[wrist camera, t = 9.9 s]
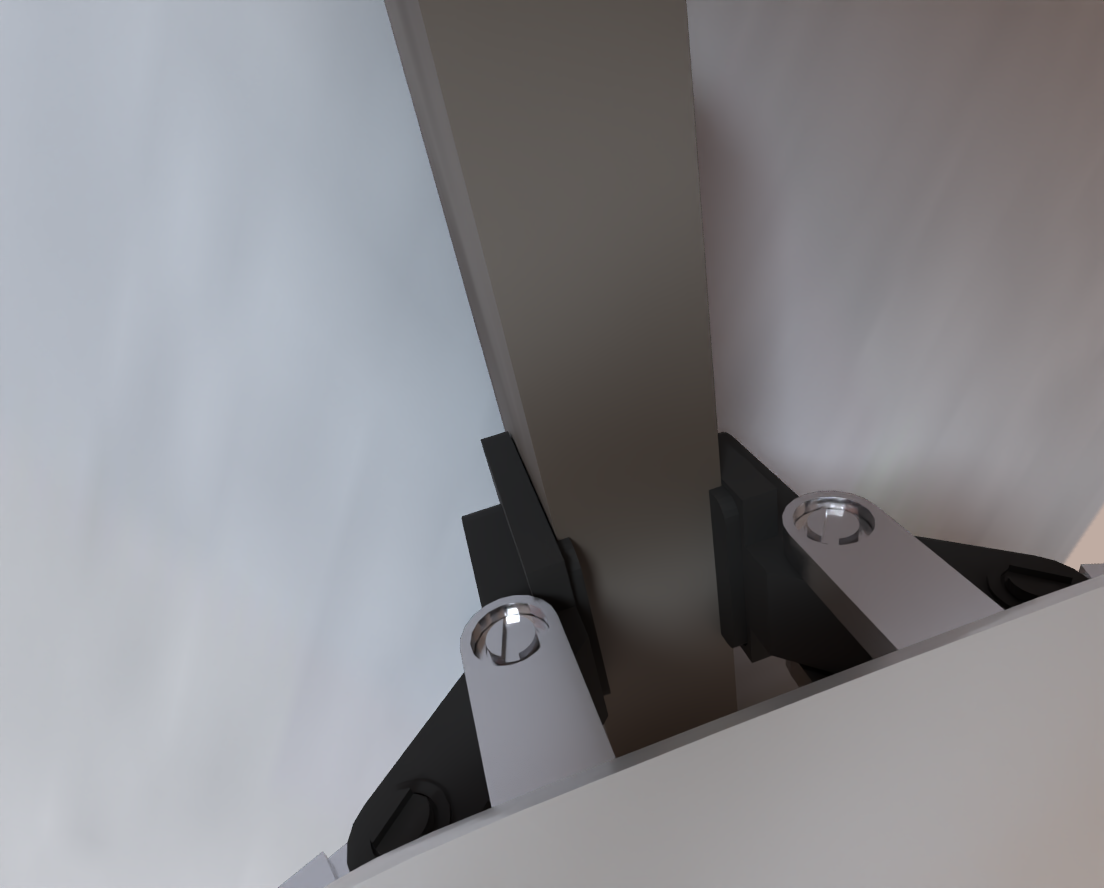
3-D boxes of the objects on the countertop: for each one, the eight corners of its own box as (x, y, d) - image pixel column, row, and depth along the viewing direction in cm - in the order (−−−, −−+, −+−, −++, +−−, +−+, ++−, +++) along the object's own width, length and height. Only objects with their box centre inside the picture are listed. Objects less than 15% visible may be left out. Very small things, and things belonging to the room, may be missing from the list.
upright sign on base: (189, -36, 8) (-1, -181, 4) (687, -140, 9) (976, -351, 5) (473, 664, 15) (515, 879, 11) (733, 572, 16) (863, 739, 12)
